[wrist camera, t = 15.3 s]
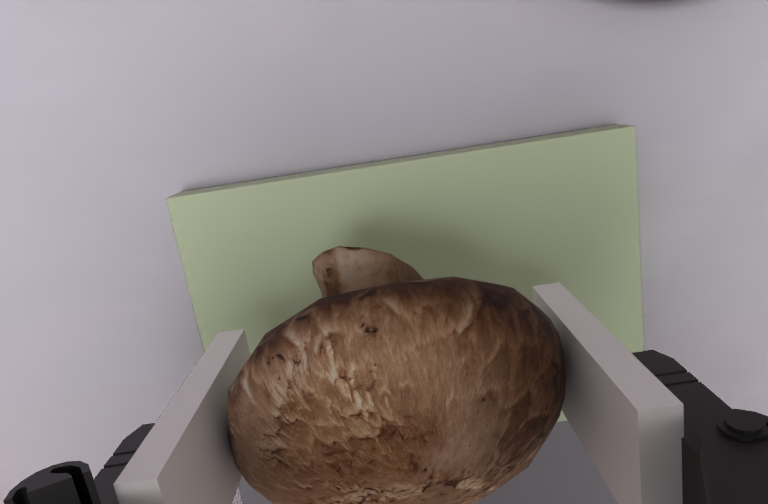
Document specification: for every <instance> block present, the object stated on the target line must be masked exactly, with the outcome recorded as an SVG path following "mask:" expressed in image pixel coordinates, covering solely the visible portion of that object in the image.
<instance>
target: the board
mask: <svg viewBox="0 0 768 504" xmlns="http://www.w3.org/2000/svg"><path fill="white" fill-rule="evenodd" d="M166 203H167V206H168V210H169V214H170V218H171V222H172V226H173V230H174V234H175V238H176V242H177V246H178V250H179V254H180V258H181V262H182V266H183V270H184V274H185V277H186V281H187V285H188V289H189V293H190V297H191V301H192V305H193V309H194V313H195V317H196V321H197V325H198V329H199V333H200V337H201V341H202V345H203V348H204V352H205V351H206V349H207V348H208V346H209V345H210V344H211V342H212V341H213V339H214V338H215V336H216V335H217V333H219V332H225V331H232V330H239V329H245V334H246V338H247V342H248V347H249V351H250V355H251V354H252V353H253V351H254V350H255V348H256V347H257V345H258V344H259V342H260V341H261V339H262V338H263V336H264V335H265V334H266V333H267V332H269V331H270V330H272V329H273V328H275V327H277V326H278V325H280V324H281V323H283V322H284V321H286V320H287V319H289V318H291V317H292V316H294V315H295V314H297V313H298V312H300V311H302V310H303V309H305V308H306V307H308V306H309V305H311V304H312V303H314V302H316V301H317V300H319V299H320V298H322V294H321V290H320V288H319V286H318V284H317V281H316V279H315V277H314V275H313V267H312V261H313V260H314V259H315V258H316V257H317V256H319V255H320V254H321V253H322V252H324V251H327V250H330V249H332V248H335V247H338V246H344V247H361V248H367V249H372V250H377V251H381V252H386V253H390V254H392V255H393V256H395V257H397V258H398V259H400V260H402V261H403V262H405V263H407V264H408V265H410V266H412V267H413V268H414V269H415V270H416V271H417V272H418V273H419V274H420V275H421V276H422V277H423V278H424V279H432V278H442V277H452V276H454V277H460V278H466V279H472V280H478V281H483V282H489V283H495V284H500V285H504V286H508V287H512V288H514V289H516V290H517V291H518V292H519V293H521V294H522V295H523V296H525V297H526V298H527V299H528V300H530V301H531V302H532V303H533V304H534V302H533V290H532V286H537V285H544V284H550V283H557V282H559V283H561V284H562V285H563V286H564V287H565V288H566V289H567V290H568V291H569V292H570V293H571V294H572V295H573V296H574V297H575V298H576V299H577V300H578V301H579V302H580V303H581V304H582V305H583V306H584V307H585V308H586V309H587V310H588V311H589V312H590V313H591V314H592V315H593V316H594V317H595V318H596V319H597V320H598V321H599V322H600V323H601V324H602V325H603V326H604V327H605V328H606V329H607V330H608V331H609V332H610V333H611V334H612V335H614V336H615V337H616V338H617V339H618V340H619V341H620V342H621V343H622V344H623V345H624V346H625V347H626V348H627V349H628V350H629V351H630V352H631V353H634V352H641V351H644V341H643V314H642V287H641V260H640V234H639V207H638V180H637V153H636V126H630V125H618V124H615V125H608V126H602V127H595V128H589V129H582V130H576V131H569V132H563V133H557V134H550V135H544V136H537V137H531V138H524V139H518V140H511V141H505V142H498V143H492V144H486V145H479V146H473V147H466V148H460V149H453V150H447V151H440V152H434V153H428V154H421V155H415V156H408V157H402V158H395V159H389V160H382V161H376V162H369V163H363V164H357V165H350V166H344V167H337V168H331V169H324V170H318V171H311V172H305V173H298V174H292V175H286V176H279V177H273V178H266V179H260V180H253V181H247V182H240V183H234V184H227V185H221V186H215V187H208V188H202V189H195V190H189V191H182V192H179V193H177V194H175V195H173V196H170V197H168V198H166ZM238 487H239V490H240V494H241V498H242V502H243V504H274V503H272V502H271V501H269V500H267V499H266V498H265V497H264V496H262V495H261V494H260V493H259V492H257V491H256V490H255V489H254V488H252V487H251V486H250V485H249V484H248V482H247V481H246V480H245V478H244V477H243V476H241V479H240V482H239V484H238ZM474 504H618V503H617V501H616V500H615V498H614V496H613V495H612V493H611V491H610V490H609V488H608V486H607V485H606V483H605V481H604V480H603V478H602V476H601V475H600V473H599V471H598V470H597V468H596V466H595V465H594V463H593V461H592V460H591V458H590V456H589V455H588V453H587V451H586V450H585V448H584V447H583V445H582V443H581V442H580V440H579V438H578V437H577V435H576V433H575V432H574V430H573V428H572V427H571V425H570V423H569V422H568V420H567V418H566V417H565V415H564V413H563V412H562V410H561V414H560V417H559V419H558V420H557V422H556V424H555V425H554V427H553V429H552V431H551V432H550V434H549V436H548V437H547V439H546V441H545V442H544V444H543V445H542V447H541V448H540V450H539V451H538V453H537V454H536V456H535V458H534V459H533V461H532V462H531V464H530V465H529V467H527V468H526V469H525V470H523V471H522V472H521V473H519V474H518V475H517V476H515V477H514V478H512V479H511V480H510V481H508V482H507V483H506V484H504V485H503V486H501V487H500V488H499V489H497V490H496V491H494V492H492V493H491V494H489V495H487V496H486V497H484V498H482V499H481V500H479V501H477V502H476V503H474Z"/></svg>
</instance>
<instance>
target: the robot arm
mask: <svg viewBox="0 0 768 504" xmlns="http://www.w3.org/2000/svg"><path fill="white" fill-rule="evenodd" d="M532 290H533V302H534V304H535V305H536V306H537V307H539V308H540V309H541V310H542V311H543V312H544V313H545V314H546V315H547V316H548V317H549V318H550V319H551V321H552V323H553V324H554V326H555V328H556V330H557V331H558V333H559V336H560V340H561V344H562V348H563V352H564V367H565V398H564V402H563V406H562V412H563V413H564V415H565V417H566V418H567V420H568V422H569V423H570V425H571V427H572V428H573V430H574V432H575V433H576V435H577V437H578V438H579V440H580V442H581V443H582V445H583V447H584V448H585V450H586V451H587V453H588V455H589V456H590V458H591V460H592V461H593V463H594V465H595V466H596V468H597V470H598V471H599V473H600V475H601V476H602V478H603V480H604V481H605V483H606V485H607V486H608V488H609V490H610V491H611V493H612V495H613V496H614V498H615V500H616V501H617V503H618V504H768V416H765V415H762V414H759V413H756V412H752V411H746V410H740V409H731V408H730V407H729V406H728V405H727V404H725V403H724V402H723V401H722V400H721V399H720V398H718V397H717V396H716V395H715V394H714V393H713V392H712V391H710V390H709V389H708V388H707V387H706V386H705V385H703V384H702V383H701V382H698V379H696V378H695V377H694V376H693V375H692V374H691V373H689V372H688V373H687V370H686V369H685V368H684V367H682V366H681V365H680V364H679V363H678V362H677V361H676V360H674V359H673V358H671V357H668V356H666V355H664V354H661V353H659V352H656V351H654V350H648V351H641V352H634V353H631V352H630V351H629V350H628V349H627V348H626V347H625V346H624V345H623V344H622V343H621V342H620V341H619V340H618V339H617V338H616V337H615V336H614V335H612V334H611V333H610V332H609V331H608V330H607V329H606V328H605V327H604V326H603V325H602V324H601V323H600V322H599V321H598V320H597V319H596V318H595V317H594V316H593V315H592V314H591V313H590V312H589V311H588V310H587V309H586V308H585V307H584V306H583V305H582V304H581V303H580V302H579V301H578V300H577V299H576V298H575V297H574V296H573V295H572V294H571V293H570V292H569V291H568V290H567V289H566V288H565V287H564V286H563V285H562V284H561V283H559V282H557V283H550V284H544V285H537V286H532ZM250 356H251V355H250V351H249V347H248V342H247V338H246V334H245V329H239V330H232V331H225V332H219V333H217V335H216V336H215V338H214V339H213V341H212V342H211V344H210V345H209V346H208V348H207V349H206V351H205V352H204V354H203V355H202V357H201V358H200V359H199V361H198V362H197V364H196V365H195V367H194V368H193V370H192V371H191V373H190V374H189V375H188V377H187V378H186V380H185V381H184V383H183V384H182V386H181V387H180V388H179V390H178V391H177V393H176V394H175V396H174V397H173V399H172V400H171V402H170V403H169V404H168V406H167V407H166V409H165V410H164V412H163V413H162V415H161V416H160V417H159V419H158V420H157V422H156V423H152V424H145V425H142V426H140V427H139V428H138V429H137V430H135V431H134V432H133V433H131V434H130V435H129V436H127V437H126V438H125V439H124V440H123V441H122V443H121V444H120V445H119V447H118V448H117V449H116V451H115V452H114V453H113V456H112V457H110V459H109V460H108V461H107V463H106V464H105V465H104V469H101V471H100V472H99V473H98V475H97V476H96V477H95V479H94V480H93V477H92V474H91V471H90V468H89V465H88V464H86V463H84V462H81V461H71V462H64V463H60V464H56V465H52V466H50V467H48V468H45V469H43V470H41V471H38V472H36V473H34V474H33V475H31V476H29V477H28V478H26V479H24V480H23V481H21V482H20V483H19V484H18V485H17V486H15V487H14V488H13V489H12V490H11V491H10V492H9V493H8V495H7V496H6V498H5V500H4V504H232V501H233V498H234V496H235V493H236V490H237V487H238V484H239V482H240V479H241V476H242V474H241V473H240V471H239V470H238V469H237V467H236V466H235V463H234V459H233V455H232V452H231V448H230V444H229V433H228V413H227V398H228V389H229V388H230V386H231V385H232V383H233V381H234V380H235V378H236V377H237V375H238V374H239V372H240V371H241V369H242V368H243V366H244V365H245V363H246V362H247V360H248V359H249V357H250Z"/></svg>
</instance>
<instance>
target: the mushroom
mask: <svg viewBox="0 0 768 504" xmlns="http://www.w3.org/2000/svg"><path fill="white" fill-rule="evenodd" d="M312 267H313V275H314V277H315V279H316V281H317V284H318V286H319V288H320V290H321V294H322V298H320V299H319V300H317V301H316V302H314V303H312V304H311V305H309V306H308V307H306V308H305V309H303V310H302V311H300V312H298V313H297V314H295V315H294V316H292V317H291V318H289V319H287V320H286V321H284V322H283V323H281V324H280V325H278V326H277V327H275V328H273V329H272V330H270V331H269V332H267V333H266V334H265V335H264V336H263V338H262V339H261V341H260V342H259V344H258V345H257V347H256V348H255V350H254V351H253V353H252V354H251V356H250V357H249V359H248V360H247V362H246V363H245V365H244V366H243V368H242V369H241V371H240V372H239V374H238V375H237V377H236V378H235V380H234V381H233V383H232V385H231V386H230V388H229V389H228V398H227V413H228V433H229V444H230V448H231V452H232V455H233V459H234V463H235V466H236V467H237V469H238V470H239V471H240V473H241V474H242V476H243V477H244V478H245V480H246V481H247V482H248V484H249V485H250V486H251V487H252V488H254V489H255V490H256V491H257V492H259V493H260V494H261V495H262V496H264V497H265V498H266V499H267V500H269V501H271V502H272V503H274V504H474V503H476V502H477V501H479V500H481V499H482V498H484V497H486V496H487V495H489V494H491V493H492V492H494V491H496V490H497V489H499V488H500V487H501V486H503V485H504V484H506V483H507V482H508V481H510V480H511V479H512V478H514V477H515V476H517V475H518V474H519V473H521V472H522V471H523V470H525V469H526V468H527V467H529V465H530V464H531V462H532V461H533V459H534V458H535V456H536V454H537V453H538V451H539V450H540V448H541V447H542V445H543V444H544V442H545V441H546V439H547V437H548V436H549V434H550V432H551V431H552V429H553V427H554V425H555V424H556V422H557V420H558V419H559V417H560V414H561V410H562V406H563V402H564V398H565V367H564V352H563V348H562V344H561V340H560V336H559V333H558V331H557V330H556V328H555V326H554V324H553V323H552V321H551V319H550V318H549V317H548V316H547V315H546V314H545V313H544V312H543V311H542V310H541V309H540V308H539V307H537V306H536V305H535V304H533V303H532V302H531V301H530V300H528V299H527V298H526V297H525V296H523V295H522V294H521V293H519V292H518V291H517V290H516V289H514V288H512V287H508V286H504V285H500V284H495V283H489V282H483V281H478V280H472V279H466V278H460V277H454V276H452V277H442V278H432V279H424V278H423V277H422V276H421V275H420V274H419V273H418V272H417V271H416V270H415V269H414V268H413V267H412V266H410V265H408V264H407V263H405V262H403V261H402V260H400V259H398V258H397V257H395V256H393V255H392V254H390V253H386V252H381V251H377V250H372V249H367V248H361V247H344V246H338V247H335V248H332V249H330V250H327V251H324V252H322V253H321V254H320V255H319V256H317V257H316V258H315V259H314V260H313V261H312Z"/></svg>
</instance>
